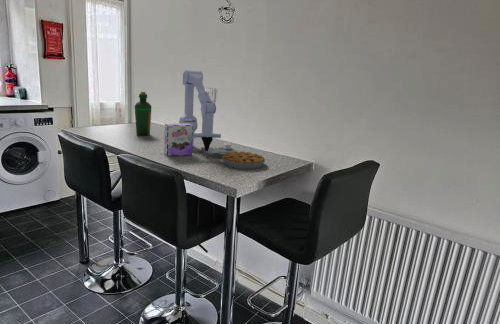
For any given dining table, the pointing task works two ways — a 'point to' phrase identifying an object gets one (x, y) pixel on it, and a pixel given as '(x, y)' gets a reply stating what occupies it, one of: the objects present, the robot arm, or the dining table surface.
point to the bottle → (143, 115)
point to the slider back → (227, 146)
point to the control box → (216, 155)
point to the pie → (243, 160)
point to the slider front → (215, 149)
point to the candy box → (178, 139)
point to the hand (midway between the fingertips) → (206, 150)
